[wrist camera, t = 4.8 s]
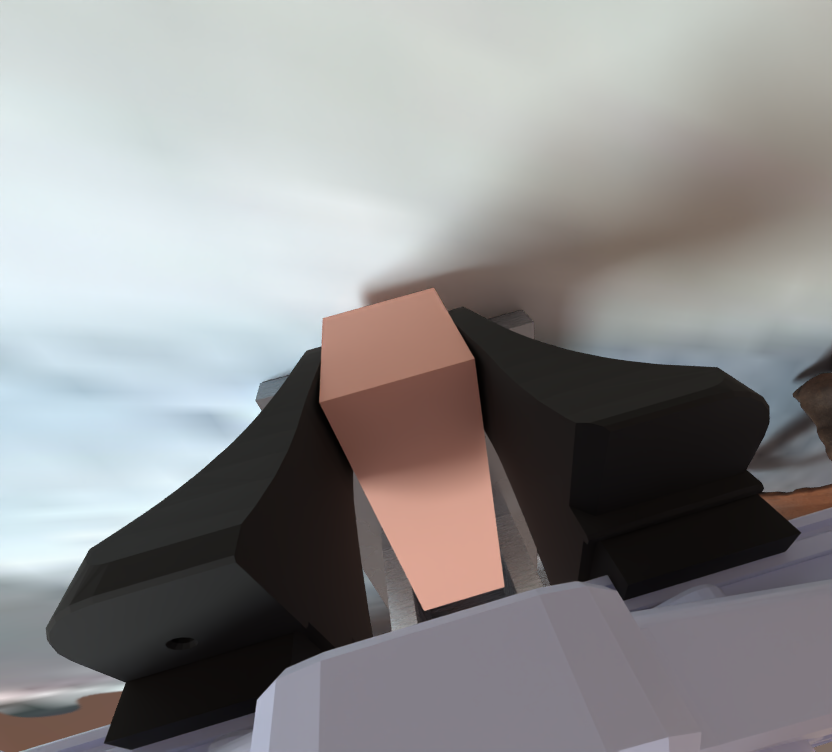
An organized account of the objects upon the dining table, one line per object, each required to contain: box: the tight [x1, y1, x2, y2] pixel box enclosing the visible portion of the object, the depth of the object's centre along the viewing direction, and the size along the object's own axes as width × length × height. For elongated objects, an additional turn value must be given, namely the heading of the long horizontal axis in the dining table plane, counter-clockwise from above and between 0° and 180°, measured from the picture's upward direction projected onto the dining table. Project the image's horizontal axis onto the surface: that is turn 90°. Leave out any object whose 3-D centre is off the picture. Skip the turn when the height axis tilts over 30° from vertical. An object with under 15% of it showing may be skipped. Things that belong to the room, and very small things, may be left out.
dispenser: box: [255, 310, 543, 631], centre depth 16 cm, size 19×10×7 cm, turn 12°
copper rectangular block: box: [319, 288, 504, 611], centre depth 13 cm, size 12×4×4 cm, turn 12°
